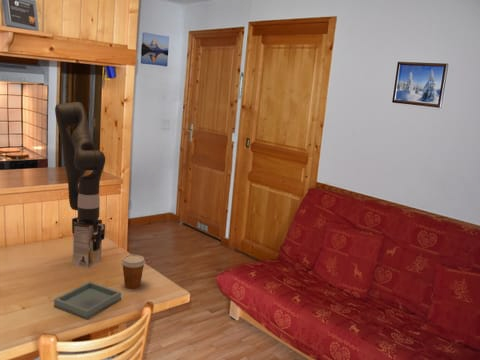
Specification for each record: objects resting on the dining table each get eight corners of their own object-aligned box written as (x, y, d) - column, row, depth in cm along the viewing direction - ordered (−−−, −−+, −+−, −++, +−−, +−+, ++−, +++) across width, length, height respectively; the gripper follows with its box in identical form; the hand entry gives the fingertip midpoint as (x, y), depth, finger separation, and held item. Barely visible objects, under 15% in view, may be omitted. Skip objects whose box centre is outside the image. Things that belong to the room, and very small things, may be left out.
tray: (89, 288, 179) (89, 281, 178) (120, 299, 173) (121, 292, 172) (54, 306, 163) (54, 299, 162) (86, 319, 157) (87, 311, 156)
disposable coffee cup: (130, 278, 191) (132, 252, 189) (148, 284, 187) (150, 257, 185) (115, 286, 183) (116, 259, 180) (134, 292, 179) (135, 265, 176)
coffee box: (86, 257, 169) (87, 217, 166) (101, 260, 168) (102, 219, 165) (72, 266, 160) (73, 223, 157) (88, 269, 159) (89, 226, 156)
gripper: (111, 206, 160) (109, 249, 163) (81, 199, 166) (81, 241, 169) (96, 211, 153) (95, 255, 157) (66, 203, 159) (65, 246, 163)
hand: (87, 248), depth 163 cm, fingers closed on coffee box, 7 cm apart
